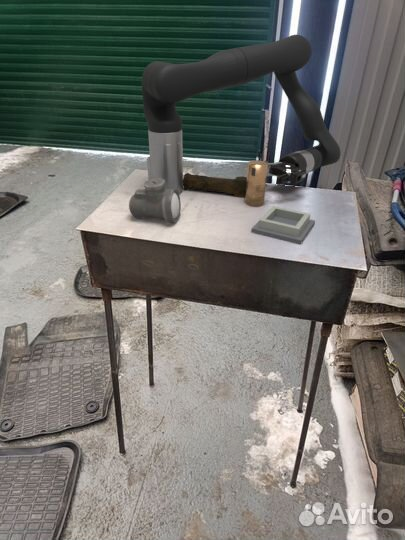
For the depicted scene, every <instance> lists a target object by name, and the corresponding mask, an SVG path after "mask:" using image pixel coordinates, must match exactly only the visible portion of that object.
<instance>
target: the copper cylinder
mask: <svg viewBox="0 0 405 540" xmlns="http://www.w3.org/2000/svg"><path fill="white" fill-rule="evenodd" d="M264 161H265V160H249V161H248V162H247V171H246V177H247V182H246V197H244V198H245V199H244V203H245V205H247V206H249V207H254V208H257V207H262V206H264V205H265V197H266V187H267V186H266V185H267V177H268V176H267V168H268V163H267V162H264Z"/></svg>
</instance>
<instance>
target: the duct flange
mask: <svg viewBox="0 0 405 540" xmlns="http://www.w3.org/2000/svg"><path fill="white" fill-rule="evenodd" d="M315 223H316V220H315V219H311V213H308V212H304V211H301V210H300V211H299V210H294V209H290V208H285V207H282V206H281V207H280V206H275V205H272V206H271V207H270V208H269V209H268V210H267V211H266V212H265V213H264V214H263V215H262V216H261V217H260V218H259V220H258V222H256V223H255V224H254V225H253V226H252V227H251V230H250V231H251V232H250V233H251V234H252V233H253V234H256V235H261V236H265V237H269V238H274V239H277V240H280V241H286V242H288V243H292V244H293V243H294V244H297V245H302V244H303V242H304V241H305V240H306V238H307V236H308V234H309V233H310V231H312V229H313V227H314V226H315Z"/></svg>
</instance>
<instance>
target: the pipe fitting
mask: <svg viewBox="0 0 405 540" xmlns="http://www.w3.org/2000/svg"><path fill="white" fill-rule="evenodd" d="M143 186H144V188H138V189H135V191H134V194H133V195H131V197H130V199H129V202H128V209H129V213H130V215H131V216H132V217H133V218H135V219H163V220H165V221H166V222H167V223H178V221H179V219H180V216H181V209H182V207H181V204H182V203H181V198H180V197H181V196H180V193H178V191H177V190H176V189H167V190H166V189H165V180H164V179H161V178H155V179H150V180H148V179H147V180H146V181H145V182H143Z"/></svg>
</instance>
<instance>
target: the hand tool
mask: <svg viewBox="0 0 405 540" xmlns="http://www.w3.org/2000/svg"><path fill="white" fill-rule="evenodd" d="M246 182H247V176H236V177H235V178H227V177H226V178H225V177H215V176H207V175H200V174H192V173H189V172H185V173H184V174H183V190H187V189H188V190H190V191H191V190H192V189H194V190H201V191H209V192H220V193H229V194H232V195H234V196H235V197H237V198H245V197H246Z"/></svg>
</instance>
